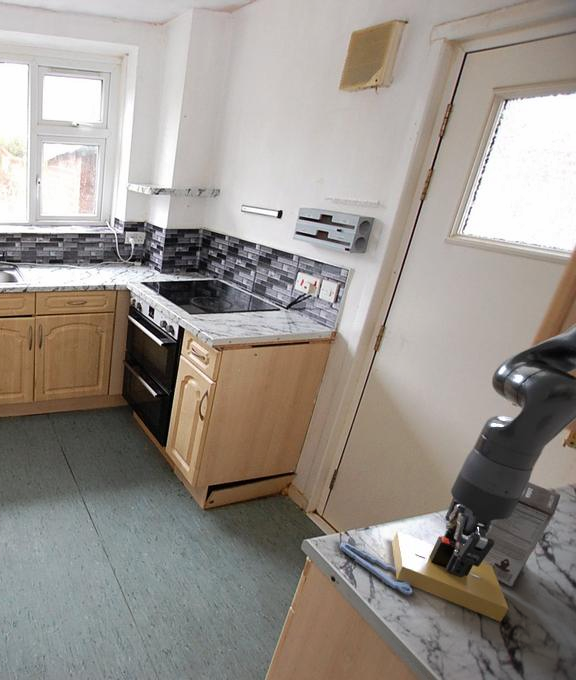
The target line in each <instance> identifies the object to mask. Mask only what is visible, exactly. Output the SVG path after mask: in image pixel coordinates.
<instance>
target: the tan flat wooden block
mask: <svg viewBox="0 0 576 680" xmlns="http://www.w3.org/2000/svg"><path fill="white" fill-rule="evenodd" d="M391 546H392V554H393V555H392V556H393V562H394V568H396V573H395V577H396V580H397V581H398V582H402V583H403V582H404V580H406V581H408V582H410V587H414V588H416V589H419V590H421V591H424V592H426V593H428V594H431V595H434V596H437V597H438V598H441V599H443V600H446V601H448V602H450V603H453V604H456V605H458V606H460V607H463V608H465V609H468V610H470V611H472V612H475V613H478V614H480V615H483V616H485V617H488V618H490V619H491V620H492V619H493V620H495V621H498V622H500V623H501V622H502V620H503V619H504V617H505V615H507V612H508V611H509V606H508V603H507V601H506V600H507V599H506V598H505V595H504V592H503V591H502V588H501V585H500V583H499V580H497V577H496V575H495V572H494V570H493V567H492V566H491V565H488V564H485V563H483V562H481V564H480V565H479V567H477V566H474V565H473V566H472V568H471V570H470V572H469V574H468V576H465V575H464V576H463V577H457V576H455V575H452V574H450V573H448V572H447V570H446V568H444V567H442V566H439V565H436V564H434V563H431V559H430V554H431V552H432V550H433V548H434V546H435V544H433V543H430V542H429V541H426V540H423V539H420V538H417V537H414V536H411V535H409V534H406V533H403V532H401V531H398V530H397V531H396V533H395V535H394V536H393V540H392V542H391Z"/></svg>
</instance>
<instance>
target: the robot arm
mask: <svg viewBox="0 0 576 680" xmlns="http://www.w3.org/2000/svg"><path fill="white" fill-rule="evenodd" d="M573 371H576V323H574V324H573V325H571V327H569V328H568V329H567V330H565V331H564V332H561V333H559V334H558V335H555V336H553V337H550V338H547V339H544V340H543V341H540V342H538V343H536V344H534V345H532V346H530V347H528V348H527V349H523V350H522V351H519V352H517V353H516V354H512V355H511V356H510V357H509V358H507V359H506V360H505V361H503V362H502V363H501V364H499V366H498V367H497V368H496V369H495V371H494V373H493V375H492V378H491V385H492V388H493V391H495V393H497V394H498V395H499V396H500V397H502V398H504V399H505V400H506V401H509V402H510V403H512V404H514V405H515V406H516V407H517V406H518V407H519V408H520V409H521V410H520V411H519V413H518V414H517V415H516V416H515V417H513V416H508V415H494V416H491V417H490V418H489V419H487V420H486V421H485V423H484V425H483V426H482V429H481V431H480V433H479V435H478V437H477V439H476V440H475V443H474V445H473V447H472V449H471V450H470V451H469V453H468V454H467V456H466V458H465V460H464V462H463V463H462V465H461V468H460V470H459V473H458V475H457V477H456V478H455V481H454V483H453V485H452V488H451V490H450V493H451V496H452V499H451V502H450V505H449V507H448V510H447V512H446V515H445V517H444V518H445V521H446V522H447V523H446V525H445V530H446V531H445V533H444V535H443V537H445V538H448V539H449V540H451V541H454V542H457V543H456V546H455V550H454V553H453V555H452V557H451V559H450V561H449V563H448V565H447V567H446V570H447V572H448V573H450V574H452V575H455V576H457V577H463V576H464V574H465V573H466V571H467V569H468V567H469V565H470V564H471V565H474V566H477V567H479V565H480V564H481V562H482V561H483V560H484V558H485V557H486V555H487V554H488V553H489V551H490V550H491V548H492V547H493V545H494V540H493V539H490V538H487V534H488V533H490V530H491V527H492V524H491V521H492V520H497V519H507V518H509V517H510V516H511V514H512V512H513V511H514V509H515V507H516V505H517V503H518V501H519V499H520V498H521V496H522V494H523V492H524V490H525V488H526V486H527V485H528V482H529V483H530V480H531V476H532V473H533V471H534V468H535V466H536V464H537V463H538V461H539V459H540V457H541V455H542V453H543V452H544V449H545V447H546V446H547V445H548V444H549V443H550V442H551V441H553V440H555V438H556V437H558V436H559V435H560V434H561V433H562V432H564V430H565V429H566V428H567V427H569V426H570V425H571V424H572V423H573V422H574V421H576V375H573V374H571V373H570V372H573ZM464 536H465V537H467V538H465V537H464ZM463 545H464V546H463ZM462 546H463V547H462Z"/></svg>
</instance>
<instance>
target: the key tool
mask: <svg viewBox="0 0 576 680" xmlns="http://www.w3.org/2000/svg"><path fill="white" fill-rule="evenodd" d="M339 549H340V550H342V552H344V553H345V554H346V555H348V556H349V557H350V558H352V559H354V562H355V563H357V564H359V565H361V566H362V567H363V568H364V569H366V570H368V572H370V573H371V574H373V575H374V576H376V577H377V578H378V579H380V580H381V581H382V582H383V583H385V584H386V585H388V586H390V587H391V588H393V589H398V591H400V592H401V593H403V594H405V595H409V596H410V595H412V593H413V589H412V588H411V587H412V586H411V585H410V582H408V581H406V580H404V582H402V581H395V580H394V579H392V578H390V577H389V576H387V575H386V574H384V573H383V572H382V571H380V570H379V569H377V568H376V567H374V566H373V565H372V564H371V563H374V564H377V565H378V566H380V567H381V568H383V569H384V570H390V571H391V572H393V573H394V574H396V568H395V566H393V565H391V564H387V563H384V562H383V561H381V560H380V559H378V557H373V556H371V555H370V554H368V552H365V551H361V550H360V549H358V548H357V547H355V546H354V545H351V544H350V542H343V541H341V543H340V547H339ZM361 557H362V558H361ZM363 558H365V559H367V560H368V561H370V562H371V563H370V562H367V561H366V560H365V559H363Z"/></svg>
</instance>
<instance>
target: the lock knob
mask: <svg viewBox="0 0 576 680" xmlns="http://www.w3.org/2000/svg"><path fill="white" fill-rule="evenodd" d="M456 543H457V542H454V541H451V540H449V539H448V538H445V537H444V535H443V536H442V535H441V536H438V537H437V540H436V542H435V544H434V545H435V546H434V548H433V550H432V552H431V554H430V559H431V563H434V564H436V565H439V566H442V567H444V568H446V567H447V565H448V563H449V561H450V559H451V557H452V555H453V553H454V550H455V546H456ZM463 546H464V544H463ZM463 546H462V547H463ZM472 566H473V565H471V564H470V565H469V567H468V569H467V571H466V573H465V574H464V575H465V576H468V574H469V572H470V570H471V568H472Z"/></svg>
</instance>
